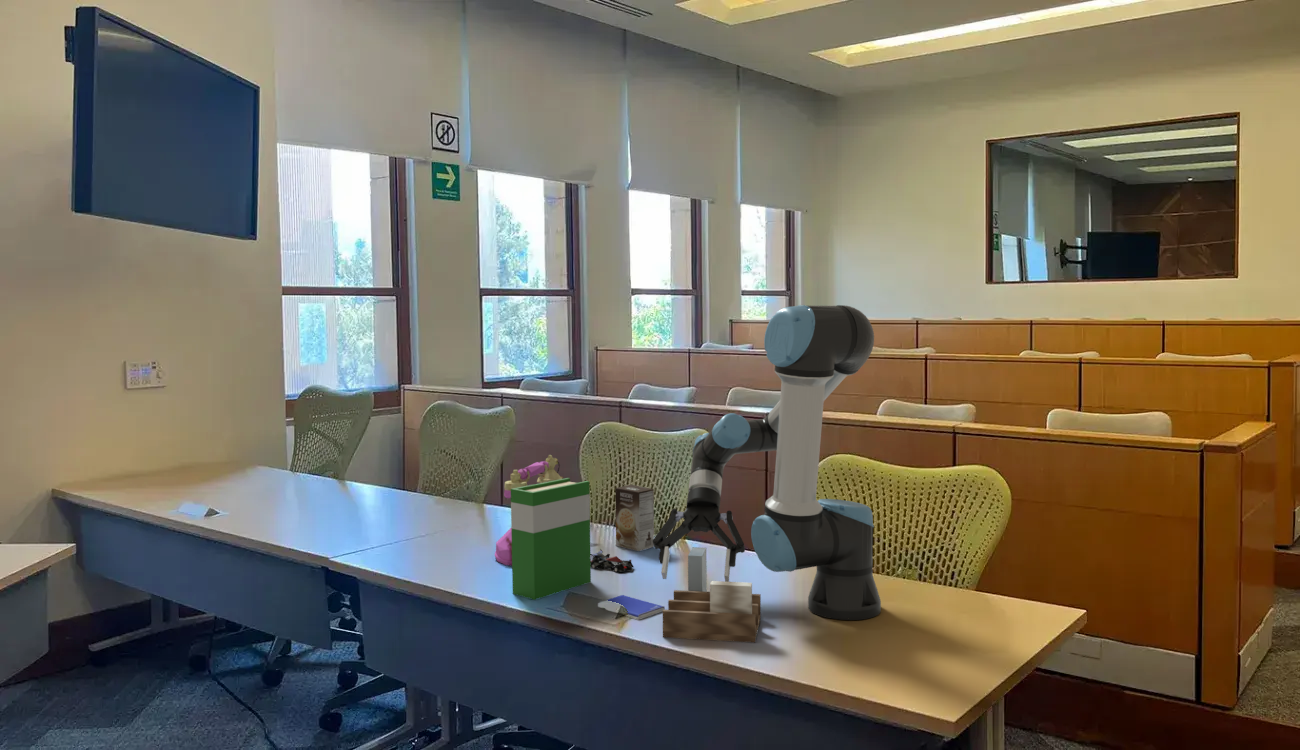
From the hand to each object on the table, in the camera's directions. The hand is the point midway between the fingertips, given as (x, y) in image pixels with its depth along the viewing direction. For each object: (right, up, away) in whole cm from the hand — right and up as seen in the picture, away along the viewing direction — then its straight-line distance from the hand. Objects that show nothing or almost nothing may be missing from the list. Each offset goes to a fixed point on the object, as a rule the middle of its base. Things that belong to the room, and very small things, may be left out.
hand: (694, 577), depth 203 cm
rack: (+3, -7, -13) cm, 15 cm away
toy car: (-19, -5, +32) cm, 37 cm away
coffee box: (-14, -3, +53) cm, 55 cm away
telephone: (-39, -4, +48) cm, 62 cm away
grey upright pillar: (+1, -6, +1) cm, 6 cm away
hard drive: (-14, -7, 0) cm, 16 cm away
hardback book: (-32, -6, +16) cm, 36 cm away
